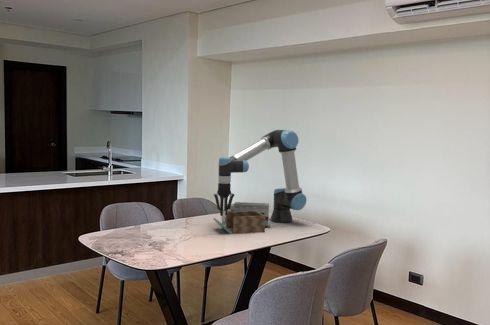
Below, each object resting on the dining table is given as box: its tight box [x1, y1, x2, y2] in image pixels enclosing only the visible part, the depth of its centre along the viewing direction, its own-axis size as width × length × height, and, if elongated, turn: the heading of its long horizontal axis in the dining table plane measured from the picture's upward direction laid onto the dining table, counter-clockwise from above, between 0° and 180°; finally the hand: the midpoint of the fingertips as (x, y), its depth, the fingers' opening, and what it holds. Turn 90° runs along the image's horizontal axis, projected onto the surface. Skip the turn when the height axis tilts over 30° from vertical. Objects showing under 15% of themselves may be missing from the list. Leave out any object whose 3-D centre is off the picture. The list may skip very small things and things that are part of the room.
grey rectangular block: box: [221, 201, 270, 227], centre depth 293 cm, size 8×30×15 cm, turn 84°
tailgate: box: [213, 217, 234, 235], centre depth 270 cm, size 1×16×10 cm
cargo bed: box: [225, 211, 266, 235], centre depth 275 cm, size 20×16×12 cm
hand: (223, 221), depth 270 cm, fingers closed
